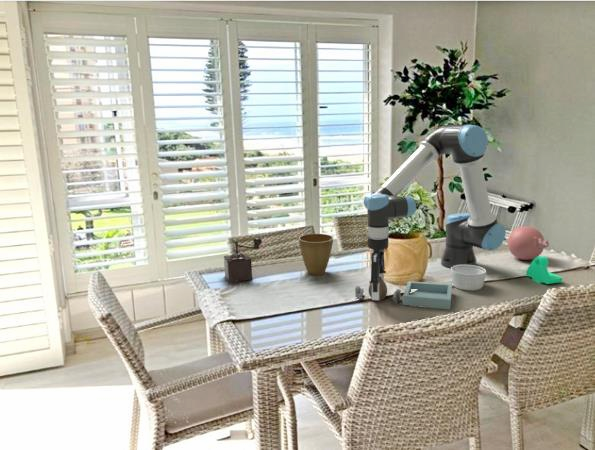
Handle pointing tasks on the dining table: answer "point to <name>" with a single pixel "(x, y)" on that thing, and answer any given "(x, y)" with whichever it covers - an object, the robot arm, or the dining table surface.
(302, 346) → the dining table surface
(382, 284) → the vase
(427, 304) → the parts bin
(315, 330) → the dining table surface
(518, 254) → the balloon
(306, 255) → the plant pot
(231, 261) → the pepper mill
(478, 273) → the ramekin
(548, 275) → the green curved piece
